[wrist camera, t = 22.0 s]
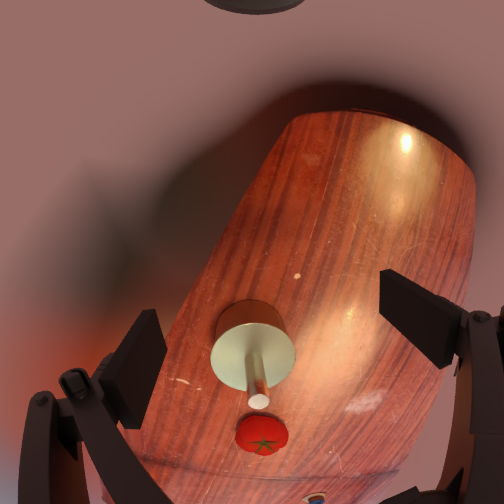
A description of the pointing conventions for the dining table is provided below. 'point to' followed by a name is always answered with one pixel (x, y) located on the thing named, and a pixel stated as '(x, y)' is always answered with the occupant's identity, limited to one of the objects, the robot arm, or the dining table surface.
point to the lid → (253, 359)
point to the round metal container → (248, 315)
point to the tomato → (261, 435)
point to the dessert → (315, 498)
